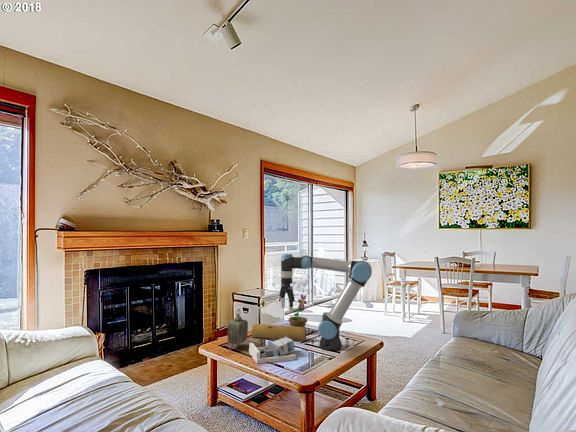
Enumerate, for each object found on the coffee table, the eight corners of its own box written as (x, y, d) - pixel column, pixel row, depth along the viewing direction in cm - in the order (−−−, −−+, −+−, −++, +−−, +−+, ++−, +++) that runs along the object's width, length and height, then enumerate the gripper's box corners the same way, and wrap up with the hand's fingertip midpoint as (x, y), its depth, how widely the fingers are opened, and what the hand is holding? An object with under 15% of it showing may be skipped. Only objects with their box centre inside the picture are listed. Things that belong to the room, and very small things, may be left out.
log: (306, 338, 256) (306, 324, 256) (304, 342, 246) (305, 328, 247) (254, 334, 262) (255, 321, 262) (251, 338, 253) (251, 324, 253)
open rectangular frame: (284, 348, 233) (284, 339, 233) (295, 359, 214) (295, 349, 214) (248, 351, 225) (249, 342, 225) (257, 363, 206) (257, 353, 206)
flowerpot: (300, 336, 260) (301, 295, 262) (284, 332, 268) (285, 293, 269) (310, 332, 272) (311, 292, 274) (294, 328, 280) (295, 290, 281)
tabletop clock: (235, 343, 240) (236, 306, 241) (247, 344, 238) (248, 307, 239) (227, 350, 226) (228, 311, 227) (240, 352, 224) (241, 312, 225)
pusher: (269, 350, 228) (269, 340, 228) (278, 359, 212) (278, 349, 212) (261, 351, 226) (261, 341, 226) (269, 360, 210) (269, 350, 210)
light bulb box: (280, 356, 216) (295, 350, 222) (278, 346, 216) (293, 340, 221) (272, 352, 226) (287, 346, 231) (271, 341, 226) (285, 336, 231)
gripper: (274, 275, 244) (274, 306, 243) (288, 280, 221) (288, 314, 220) (284, 274, 246) (284, 305, 246) (299, 279, 224) (299, 313, 223)
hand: (286, 309), depth 233 cm, fingers open, 13 cm apart
